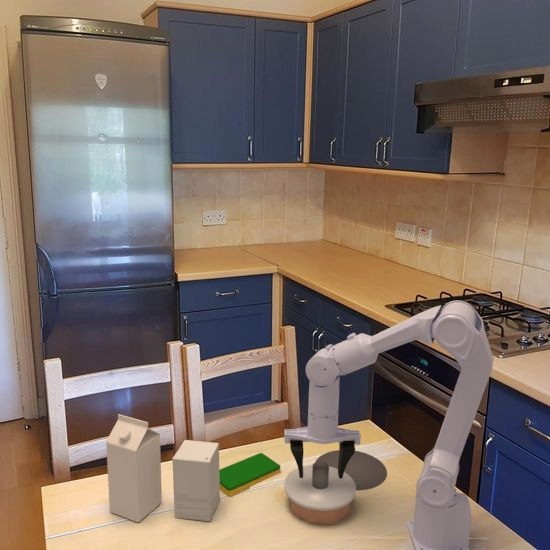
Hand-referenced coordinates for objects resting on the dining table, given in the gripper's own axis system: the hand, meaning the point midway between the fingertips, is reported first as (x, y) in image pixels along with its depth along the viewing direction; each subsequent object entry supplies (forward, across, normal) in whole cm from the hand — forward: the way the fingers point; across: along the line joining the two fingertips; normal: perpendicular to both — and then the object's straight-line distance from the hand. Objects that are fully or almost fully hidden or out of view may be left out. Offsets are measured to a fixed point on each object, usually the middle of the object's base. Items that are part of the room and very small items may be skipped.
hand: (320, 475), depth 108 cm
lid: (+3, 0, 0) cm, 3 cm away
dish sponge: (+8, +15, -10) cm, 19 cm away
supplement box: (+7, +24, +1) cm, 25 cm away
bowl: (+7, 0, 0) cm, 7 cm away
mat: (+7, -8, -13) cm, 17 cm away
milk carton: (+7, +36, +1) cm, 37 cm away
